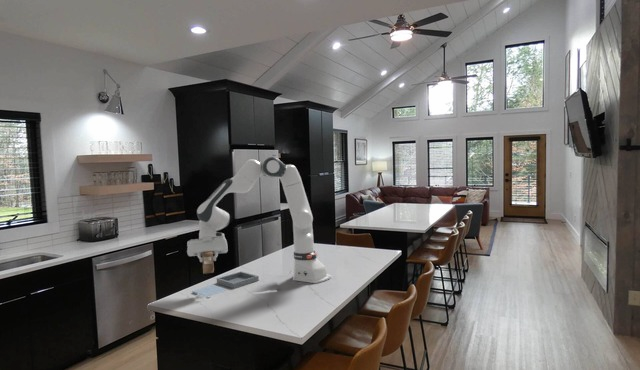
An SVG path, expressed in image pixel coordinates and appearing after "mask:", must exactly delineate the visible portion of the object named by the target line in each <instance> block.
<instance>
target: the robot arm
mask: <svg viewBox="0 0 640 370" xmlns="http://www.w3.org/2000/svg"><path fill="white" fill-rule="evenodd" d="M262 176H265V177H267V178H278V179H279V180H280V183H281V185H282V189H283V192H284V195H285V198H286V202H287V205H288V209H289V213H290V215H291V219H292V232H293V251H294V252H293V258H294V263H293V274H292V281H298V282H303V283H311V284H318V283H322V282H325V281H328V280H330V279H331V278H332V275H331V274H329V273H328V272H327V267H326V265H325V264H323V262H321V261H320V260H319V259H318V255H319V254H318V252H316V251H315V246H314V244H315V243H314V229H313V221H314V217H313V213H312V210H311V207H310V203H309V200H308V197H307V193H306V191H305V187H304V184H303V181H302V177H301V175H300V172H299V171H298V169H297V167H296V166H295V165H294V164H285V163H284V162H283V161H281V160H280V159H279V158H278V157H276V156H269V157H267V158H265V159H264V160H263V161H258V160H256V159H255V158H254V159H253V158H250V159H248V160H247V161H246V162H244V164H243V165H242V166H241V167H240V169H239V170H238V171H237V173H235V175H234V176H233V177H231V178H227V179H226V180H225V179H224V181H223V182H222V183H221V184H219V185H218V187H217V188H216V189H215V190H214V191H213V192H212V193H211V194H210V196H208V198H207V199H205V200H204V201H203V202H202V203H201V204H200V205H199V206H198V207H197V209H196V216H197V218H198V220H199V221H198V222H199V224H198V229H199V233H198V238H195V239H190V240H188V241H187V243H186V244H187V245H186V247H187V248H186V249H187V250H186V253H187V256H188V257H195V256H196V257H197V258H198V259H199V262H200V263H203V262H202V253H203V252H211V251H213V262H216V261H217V258H218V256H219V254H227V253H228V251H229V249H228V241H227V239H226V237H225V233H223V232H219V231H221V230H223V229H225V228H226V227H228V226H229V224H230V220H231V216H230V214H229V212H227V211H226V210H224V209H222V208H219V207H218V206H217V205H218V203H219V202H220V201H221V200H222V199H223V198H224V196H226V195H228V194H230V193H236V194H246V193H248V192H249V191H251V190H252V189H253V187H254V186H255V184H256V183H257V181H258V179H259V178H260V177H262Z"/></svg>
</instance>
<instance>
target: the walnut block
mask: <svg viewBox="0 0 640 370" xmlns="http://www.w3.org/2000/svg"><path fill="white" fill-rule="evenodd" d="M213 256H214V254H213V251H211V252H203V253H202V255H201V258H202V262H201V263H202V273H203V275H204V274H212V273H213V274H214V271H215V266H214V261H213Z"/></svg>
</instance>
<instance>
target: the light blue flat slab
mask: <svg viewBox="0 0 640 370" xmlns="http://www.w3.org/2000/svg"><path fill="white" fill-rule="evenodd" d="M226 291H228V289H227V288H223V287H220V286H217V285H215V284H211V285H208V286H205V287H201V288H197V289H194V290H192V294H194V295H197V296H198V294H199V295H202V296H204V297H205V298H206V299H210V298H211V296H213V295H214V296H215V295H216V294H219V293H222V292H223V293H224V292H226Z"/></svg>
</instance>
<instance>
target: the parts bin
mask: <svg viewBox="0 0 640 370" xmlns="http://www.w3.org/2000/svg"><path fill="white" fill-rule="evenodd" d="M255 282H259V275H256V274H252V273H249V272H244V271H238V272H234V273H231V274H226V275H224V276H221V277H217V278H216V284H219V285H222V286H225V287H228V288H231V289H236V288H240V287H243V286H247V285H249V284H252V283H255Z"/></svg>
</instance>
